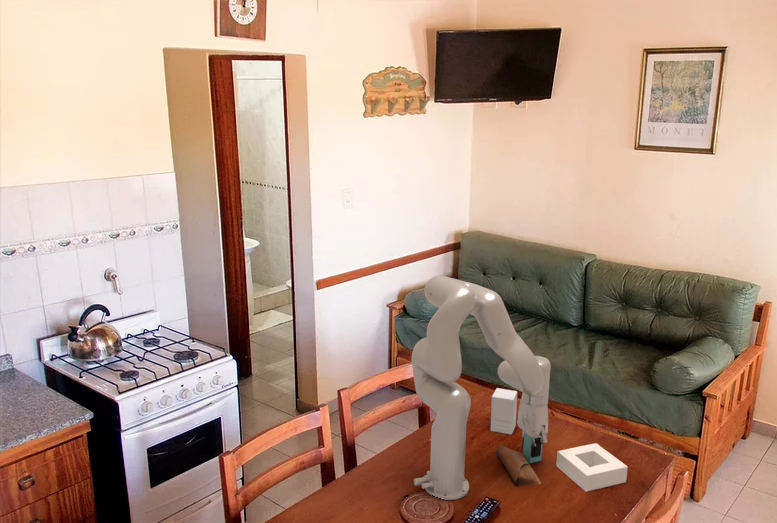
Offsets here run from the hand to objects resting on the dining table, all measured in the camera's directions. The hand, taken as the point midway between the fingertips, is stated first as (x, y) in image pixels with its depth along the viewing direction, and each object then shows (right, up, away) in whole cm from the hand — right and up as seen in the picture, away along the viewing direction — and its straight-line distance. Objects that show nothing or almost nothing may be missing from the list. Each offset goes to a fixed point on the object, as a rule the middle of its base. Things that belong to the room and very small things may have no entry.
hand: (531, 452), depth 195 cm
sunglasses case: (-5, -4, -4) cm, 8 cm away
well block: (+16, -4, -7) cm, 18 cm away
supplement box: (-5, +2, +20) cm, 20 cm away
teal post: (0, -2, +1) cm, 2 cm away
